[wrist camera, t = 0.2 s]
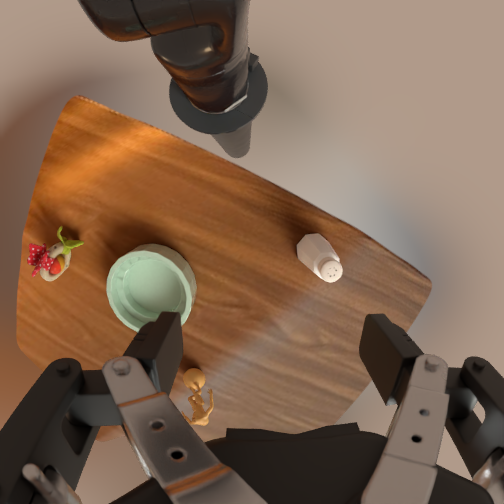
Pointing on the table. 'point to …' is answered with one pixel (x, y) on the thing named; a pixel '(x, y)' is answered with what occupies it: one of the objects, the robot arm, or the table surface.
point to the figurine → (197, 396)
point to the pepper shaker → (319, 257)
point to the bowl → (150, 285)
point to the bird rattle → (52, 257)
